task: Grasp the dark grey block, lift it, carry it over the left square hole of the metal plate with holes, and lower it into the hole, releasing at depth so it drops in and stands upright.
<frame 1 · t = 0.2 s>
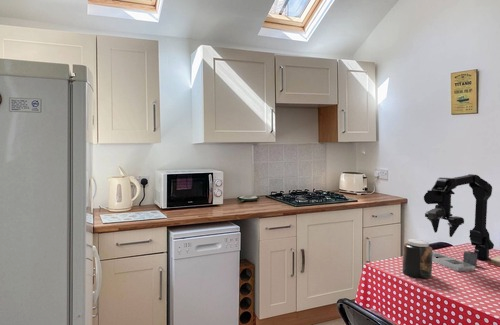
hand: (443, 234, 177), 14 cm above the table, fingers open, 9 cm apart
dark grey block: (469, 264, 176), on the table
metal plate with holes: (445, 262, 178), on the table
jar: (416, 274, 160), on the table
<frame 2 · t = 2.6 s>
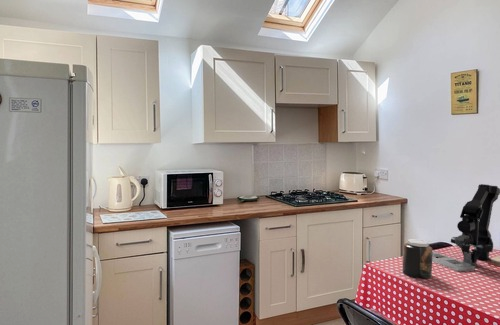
hand: (469, 261, 176), 2 cm above the table, fingers closed on dark grey block, 4 cm apart
dark grey block: (469, 264, 176), on the table, touching gripper
everything else where it was.
when the fingers open (3 cm above the table, at t = 7.4 s): dark grey block drops 2 cm, resting in metal plate with holes.
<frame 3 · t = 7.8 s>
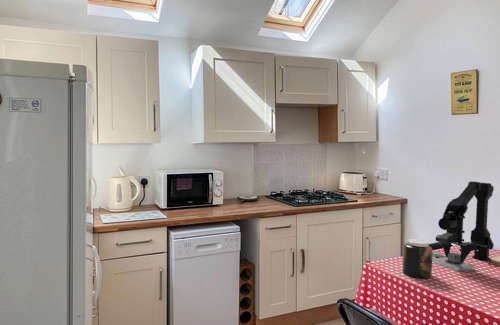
hand: (454, 259, 173), 3 cm above the table, fingers open, 8 cm apart
dark grey block: (454, 266, 173), resting in metal plate with holes
everything else where it was.
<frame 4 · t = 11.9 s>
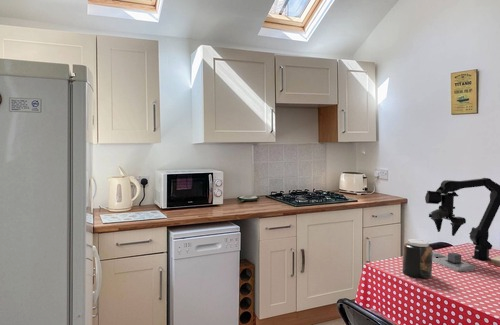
hand: (445, 233, 189), 12 cm above the table, fingers open, 9 cm apart
nothing on the table moved.
at the end: dark grey block 0.0 cm from the target spot on the metal plate with holes, point 0.0 cm above the metal plate with holes's base; dark grey block tilted 0°; the gripper is holding nothing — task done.
